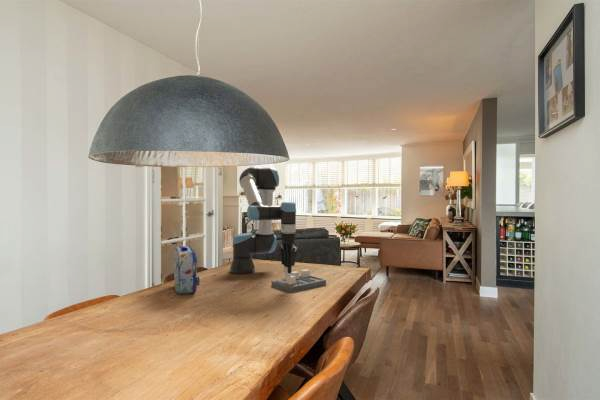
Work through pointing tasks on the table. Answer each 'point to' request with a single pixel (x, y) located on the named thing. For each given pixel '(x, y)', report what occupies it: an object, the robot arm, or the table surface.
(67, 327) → the table surface
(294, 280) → the switch
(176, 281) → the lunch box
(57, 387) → the table surface
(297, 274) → the switch middle
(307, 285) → the switch panel
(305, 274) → the switch
